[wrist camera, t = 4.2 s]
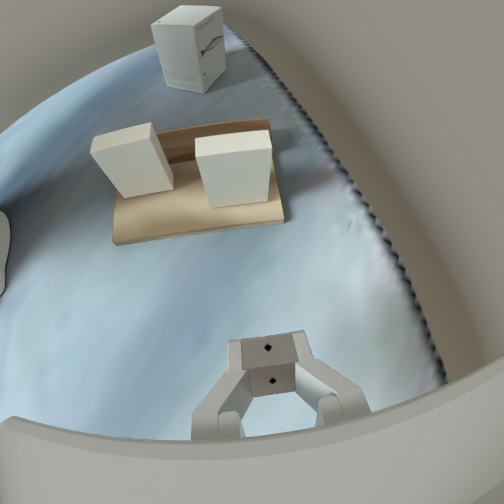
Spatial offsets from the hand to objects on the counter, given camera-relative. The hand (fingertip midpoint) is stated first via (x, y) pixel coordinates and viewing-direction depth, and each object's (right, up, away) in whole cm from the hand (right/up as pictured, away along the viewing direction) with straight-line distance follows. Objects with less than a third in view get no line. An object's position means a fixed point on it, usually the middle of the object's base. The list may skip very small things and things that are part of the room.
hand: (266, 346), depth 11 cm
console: (-7, +11, +22) cm, 25 cm away
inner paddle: (-12, +11, +20) cm, 26 cm away
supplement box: (-9, +32, +28) cm, 44 cm away
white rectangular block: (-2, +10, +19) cm, 22 cm away
